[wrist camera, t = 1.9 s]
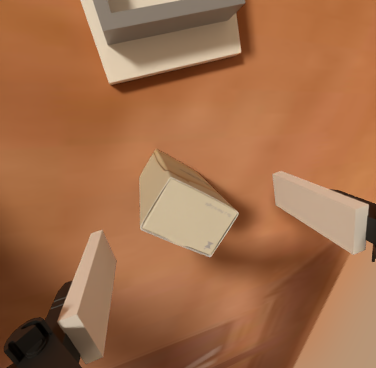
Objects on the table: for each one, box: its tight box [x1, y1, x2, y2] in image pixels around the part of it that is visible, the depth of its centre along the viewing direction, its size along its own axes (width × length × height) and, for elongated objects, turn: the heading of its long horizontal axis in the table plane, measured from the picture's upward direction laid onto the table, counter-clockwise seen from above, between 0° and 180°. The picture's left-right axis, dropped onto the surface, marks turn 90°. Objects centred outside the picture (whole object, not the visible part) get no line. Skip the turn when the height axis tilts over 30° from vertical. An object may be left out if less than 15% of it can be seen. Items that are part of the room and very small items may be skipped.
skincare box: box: [139, 149, 239, 257], centre depth 20 cm, size 6×4×12 cm
